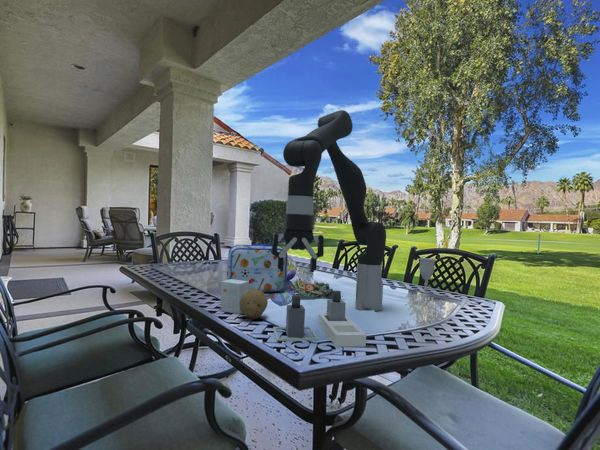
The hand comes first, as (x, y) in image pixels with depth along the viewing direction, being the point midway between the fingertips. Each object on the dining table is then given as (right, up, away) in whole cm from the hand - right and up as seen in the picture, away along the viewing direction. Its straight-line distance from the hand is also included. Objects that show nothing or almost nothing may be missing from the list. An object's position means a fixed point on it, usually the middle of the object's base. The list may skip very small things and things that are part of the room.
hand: (296, 271), depth 96 cm
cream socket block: (+12, -19, +2) cm, 23 cm away
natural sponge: (-14, -18, +15) cm, 27 cm away
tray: (-1, -18, 0) cm, 18 cm away
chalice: (+57, -20, +58) cm, 83 cm away
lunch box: (-18, -17, +59) cm, 64 cm away
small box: (-22, -17, +25) cm, 38 cm away
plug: (-1, -18, 0) cm, 18 cm away
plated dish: (+6, -19, +62) cm, 66 cm away
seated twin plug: (+11, -18, +7) cm, 22 cm away
